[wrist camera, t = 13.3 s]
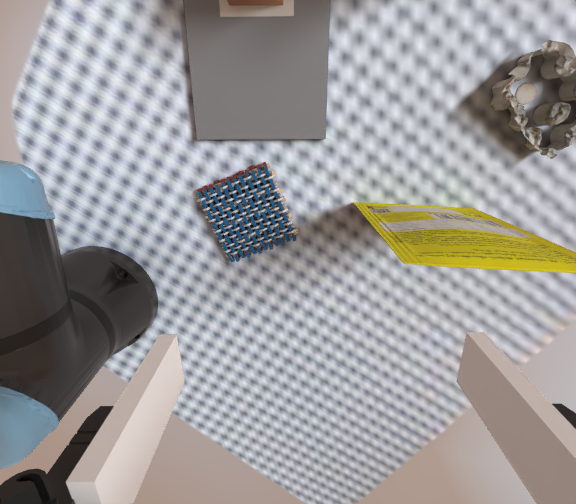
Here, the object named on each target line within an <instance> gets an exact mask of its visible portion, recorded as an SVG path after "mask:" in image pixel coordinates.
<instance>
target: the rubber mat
mask: <svg viewBox="0 0 576 504" xmlns="http://www.w3.org/2000/svg"><path fill="white" fill-rule="evenodd" d="M183 3H184V13H185V23H186V33H187V43H188V54H189V64H190V74H191V84H192V95H193V105H194V115H195V125H196V136H197V140H219V139H325V138H326V109H327V79H328V50H329V20H330V0H283V5H239V6H230V5H229V4H228V2H227V0H183Z"/></svg>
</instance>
